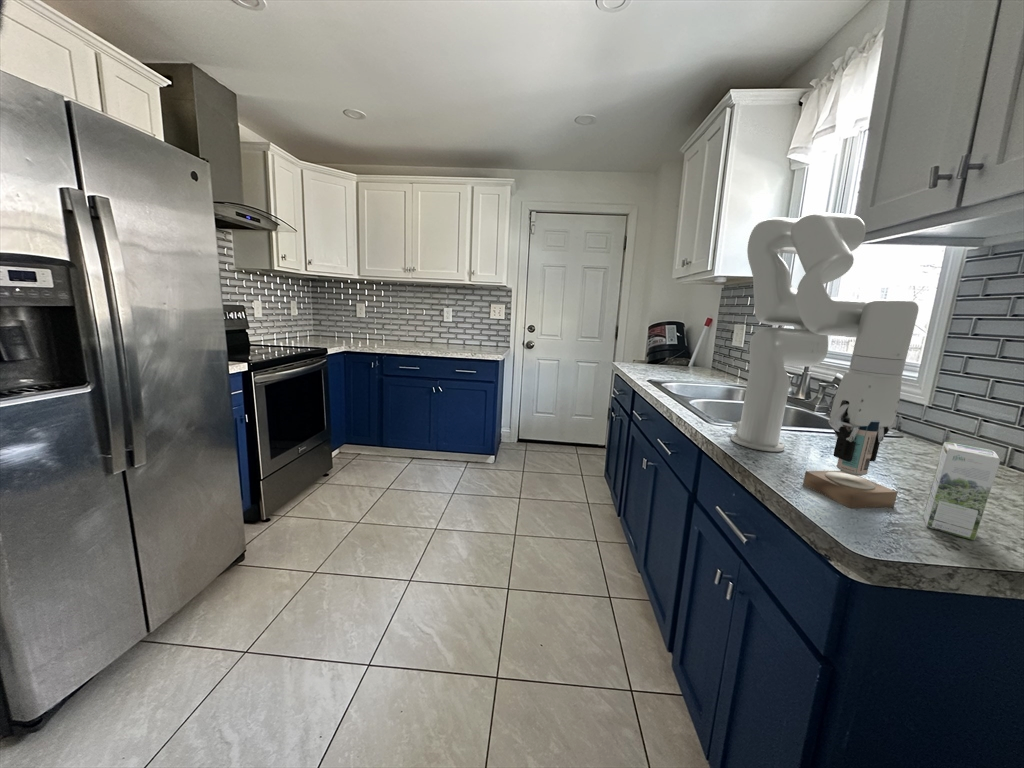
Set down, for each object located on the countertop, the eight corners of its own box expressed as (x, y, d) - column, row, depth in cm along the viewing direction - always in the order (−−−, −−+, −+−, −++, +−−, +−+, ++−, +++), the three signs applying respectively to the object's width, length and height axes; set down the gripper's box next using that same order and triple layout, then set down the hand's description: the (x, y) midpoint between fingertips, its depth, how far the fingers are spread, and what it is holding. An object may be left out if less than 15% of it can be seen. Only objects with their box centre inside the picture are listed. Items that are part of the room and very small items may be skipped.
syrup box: (969, 529, 69) (993, 448, 67) (975, 542, 65) (1001, 457, 62) (922, 516, 73) (943, 439, 70) (925, 528, 68) (948, 446, 66)
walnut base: (802, 484, 84) (805, 469, 83) (842, 483, 86) (845, 469, 85) (850, 508, 74) (854, 491, 74) (893, 506, 76) (898, 490, 75)
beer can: (861, 470, 80) (876, 412, 78) (871, 479, 76) (886, 418, 74) (832, 465, 82) (845, 408, 80) (839, 473, 78) (853, 413, 76)
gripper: (890, 365, 80) (869, 452, 84) (819, 362, 77) (800, 452, 81) (935, 372, 73) (910, 466, 77) (858, 368, 70) (836, 466, 74)
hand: (854, 457), depth 79 cm, fingers closed on beer can, 4 cm apart
